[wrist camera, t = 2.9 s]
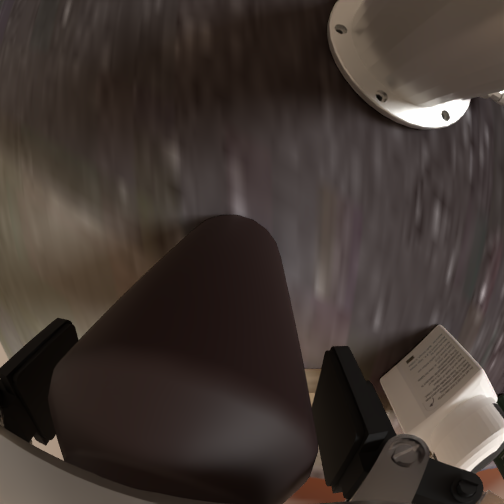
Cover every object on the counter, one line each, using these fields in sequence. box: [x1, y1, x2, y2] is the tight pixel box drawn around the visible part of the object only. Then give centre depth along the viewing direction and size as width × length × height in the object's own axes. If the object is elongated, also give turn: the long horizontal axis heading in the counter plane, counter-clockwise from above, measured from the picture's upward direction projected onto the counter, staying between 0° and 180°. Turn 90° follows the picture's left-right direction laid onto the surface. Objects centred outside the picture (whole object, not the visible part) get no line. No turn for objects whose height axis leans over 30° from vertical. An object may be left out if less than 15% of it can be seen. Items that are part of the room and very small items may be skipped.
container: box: [380, 325, 504, 474], centre depth 16 cm, size 8×8×13 cm
